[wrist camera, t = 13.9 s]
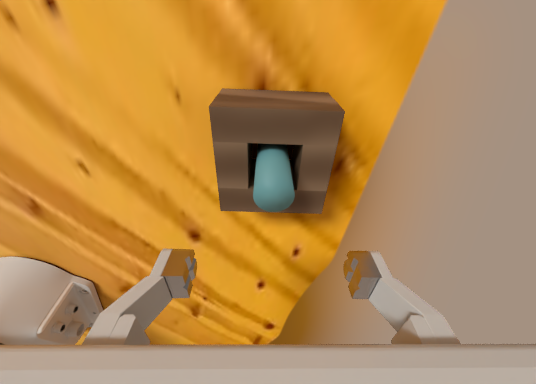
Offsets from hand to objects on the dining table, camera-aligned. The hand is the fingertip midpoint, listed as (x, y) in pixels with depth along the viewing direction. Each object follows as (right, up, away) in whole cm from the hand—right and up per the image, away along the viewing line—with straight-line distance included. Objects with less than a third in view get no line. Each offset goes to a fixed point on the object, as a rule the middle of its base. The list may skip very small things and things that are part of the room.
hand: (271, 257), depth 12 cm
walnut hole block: (0, +9, +12) cm, 15 cm away
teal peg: (0, +9, +12) cm, 15 cm away
